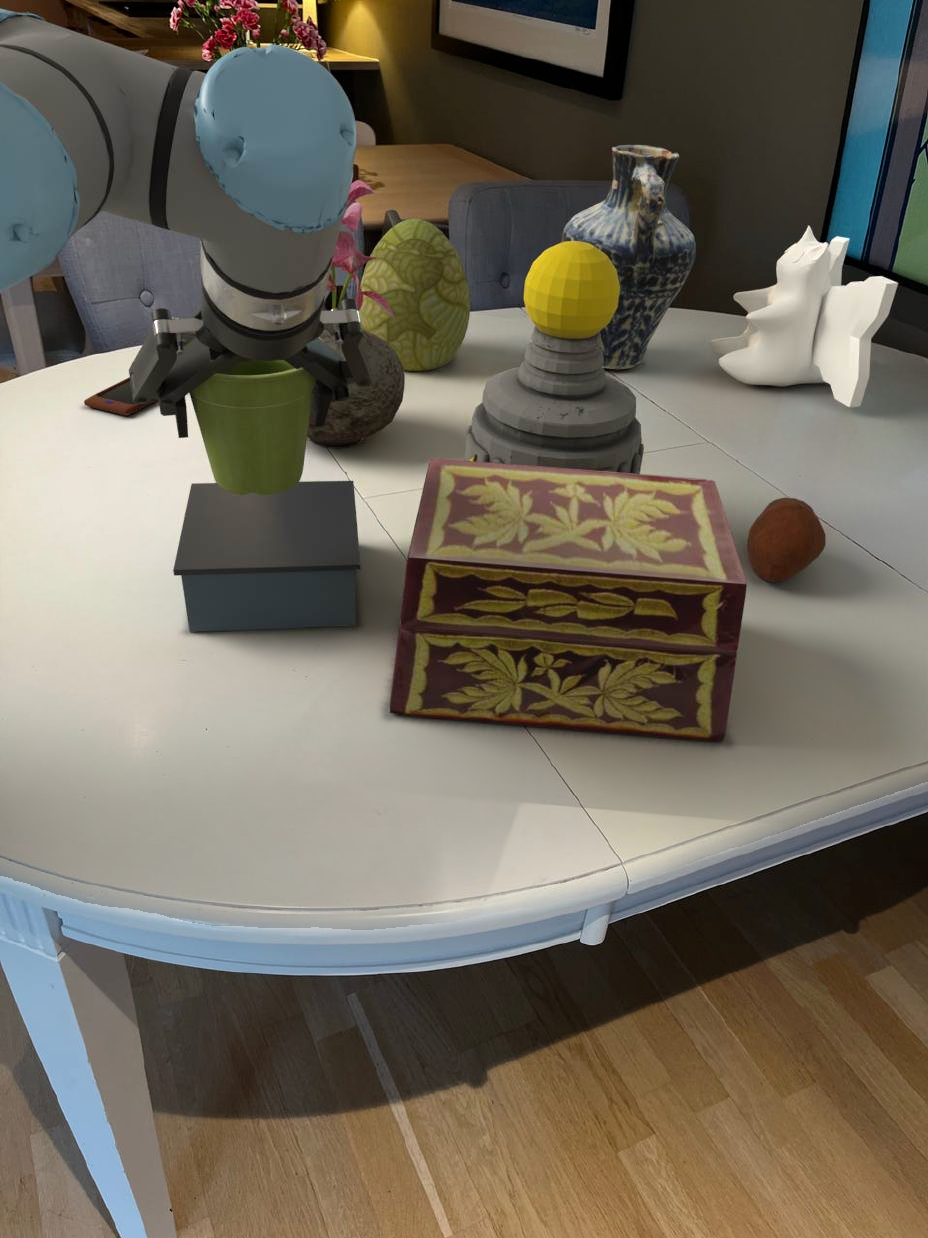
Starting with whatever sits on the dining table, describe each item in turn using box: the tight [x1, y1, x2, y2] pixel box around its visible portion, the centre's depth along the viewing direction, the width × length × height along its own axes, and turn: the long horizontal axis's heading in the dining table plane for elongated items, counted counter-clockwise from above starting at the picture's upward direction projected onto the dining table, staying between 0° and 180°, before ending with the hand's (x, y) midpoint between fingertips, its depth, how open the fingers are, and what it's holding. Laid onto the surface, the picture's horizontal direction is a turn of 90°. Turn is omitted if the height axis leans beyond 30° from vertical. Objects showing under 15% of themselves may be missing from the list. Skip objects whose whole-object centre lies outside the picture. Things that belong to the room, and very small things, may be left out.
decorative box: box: [389, 458, 748, 742], centre depth 81 cm, size 28×19×15 cm
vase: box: [307, 179, 406, 449], centre depth 113 cm, size 17×17×30 cm
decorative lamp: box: [464, 241, 645, 474], centre depth 97 cm, size 19×19×30 cm
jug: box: [561, 144, 697, 370], centre depth 140 cm, size 21×19×30 cm
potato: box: [746, 497, 827, 583], centre depth 98 cm, size 8×12×8 cm, turn 165°
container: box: [172, 480, 362, 633], centre depth 91 cm, size 16×16×7 cm
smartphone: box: [83, 376, 157, 416], centre depth 129 cm, size 7×1×15 cm
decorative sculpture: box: [359, 218, 471, 372], centre depth 139 cm, size 16×16×20 cm
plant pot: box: [183, 337, 323, 495], centre depth 76 cm, size 12×12×11 cm
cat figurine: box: [709, 225, 899, 408], centre depth 139 cm, size 25×21×21 cm
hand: (250, 416), depth 79 cm, fingers closed on plant pot, 10 cm apart
